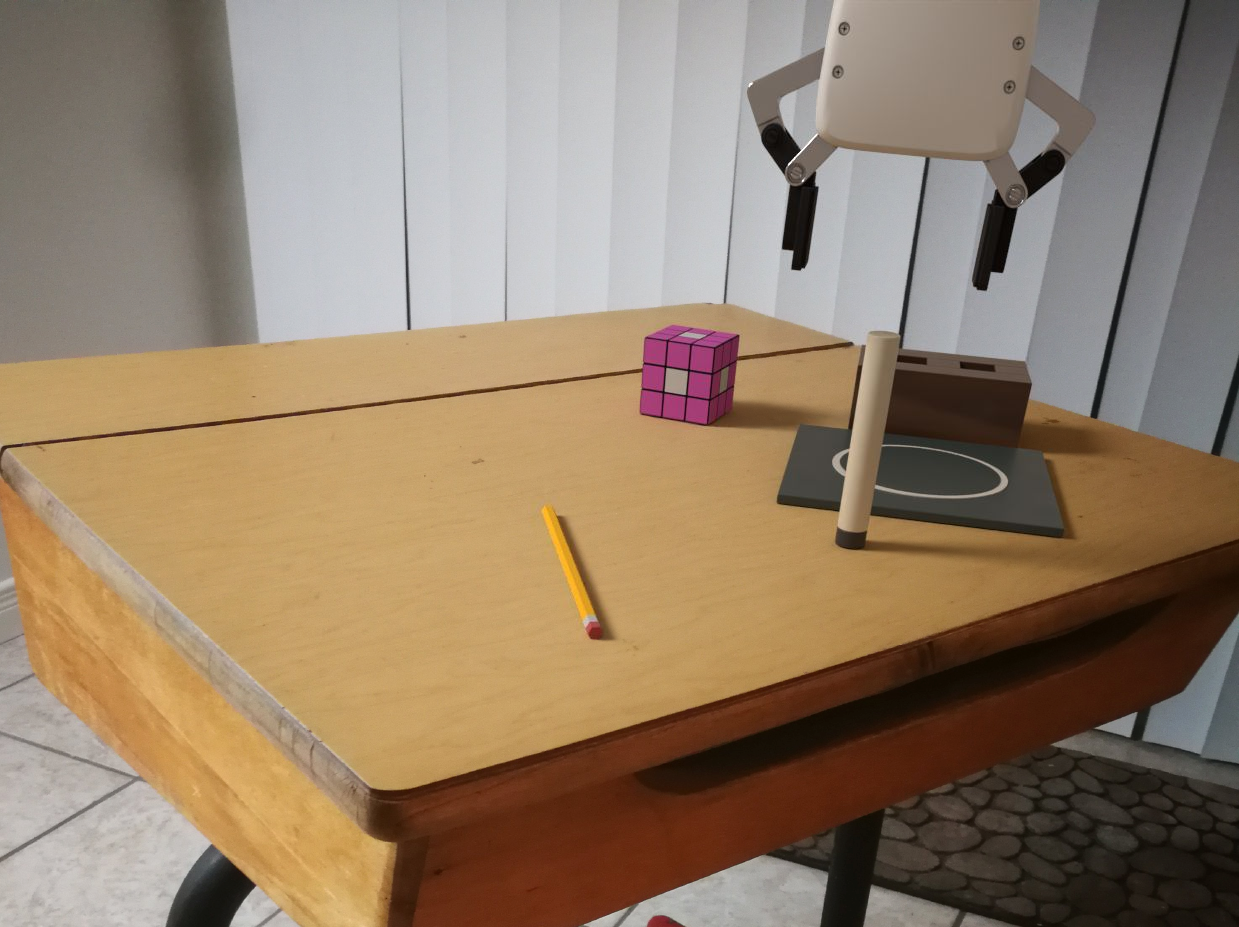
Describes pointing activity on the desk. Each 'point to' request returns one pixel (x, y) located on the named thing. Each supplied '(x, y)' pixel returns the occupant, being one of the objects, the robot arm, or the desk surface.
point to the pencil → (572, 574)
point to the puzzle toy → (688, 374)
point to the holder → (955, 397)
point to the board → (929, 481)
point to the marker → (867, 437)
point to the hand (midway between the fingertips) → (888, 276)
